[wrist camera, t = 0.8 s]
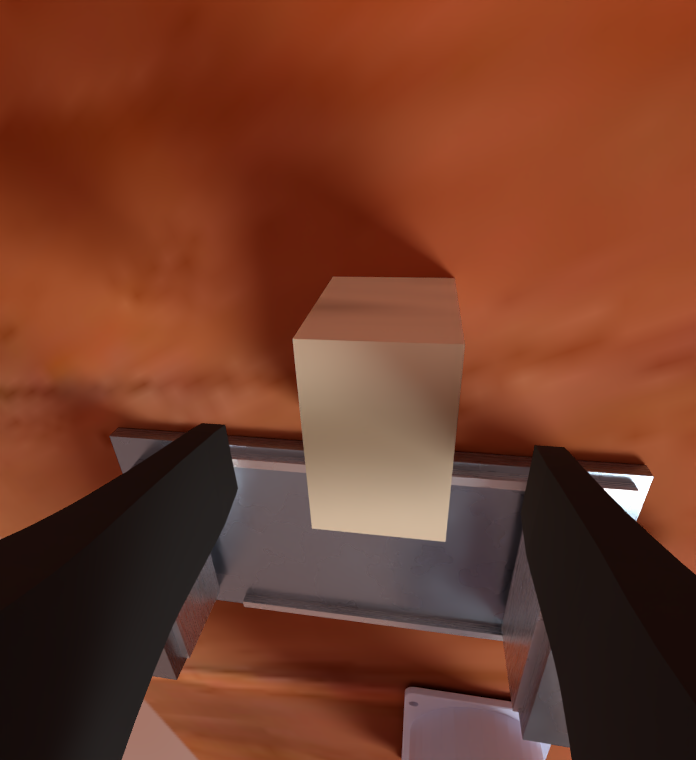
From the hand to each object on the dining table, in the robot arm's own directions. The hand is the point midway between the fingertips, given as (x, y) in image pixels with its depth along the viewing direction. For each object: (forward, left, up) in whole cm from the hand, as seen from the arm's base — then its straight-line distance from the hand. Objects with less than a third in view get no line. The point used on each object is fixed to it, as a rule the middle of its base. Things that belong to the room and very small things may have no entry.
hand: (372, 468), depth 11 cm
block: (0, 0, -6) cm, 6 cm away
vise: (-9, +1, -6) cm, 10 cm away
